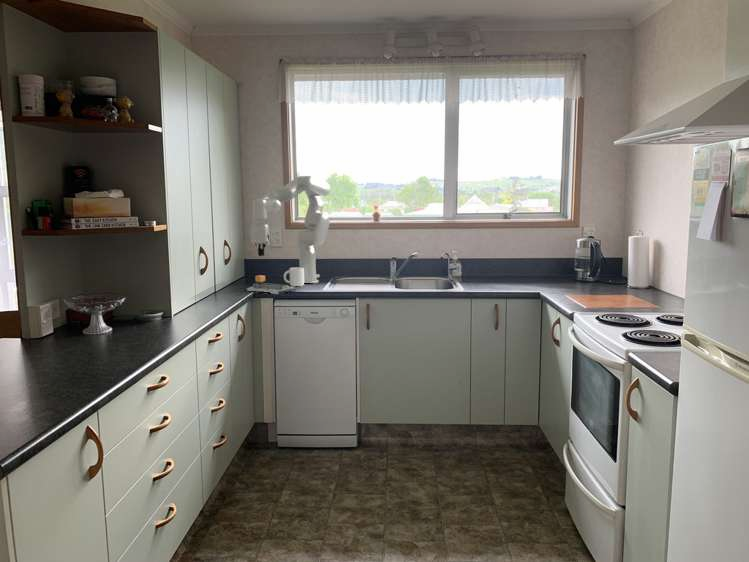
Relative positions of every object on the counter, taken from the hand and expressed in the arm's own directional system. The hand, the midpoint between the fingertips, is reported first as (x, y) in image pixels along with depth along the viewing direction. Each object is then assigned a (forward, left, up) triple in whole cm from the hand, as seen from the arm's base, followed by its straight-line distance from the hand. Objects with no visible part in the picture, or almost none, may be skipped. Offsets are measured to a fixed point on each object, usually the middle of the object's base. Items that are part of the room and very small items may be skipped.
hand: (261, 255), depth 330 cm
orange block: (0, -1, -17) cm, 17 cm away
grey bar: (0, +17, -19) cm, 26 cm away
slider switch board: (0, +6, -19) cm, 20 cm away
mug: (-20, +7, -20) cm, 29 cm away
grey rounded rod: (0, -6, -19) cm, 20 cm away
